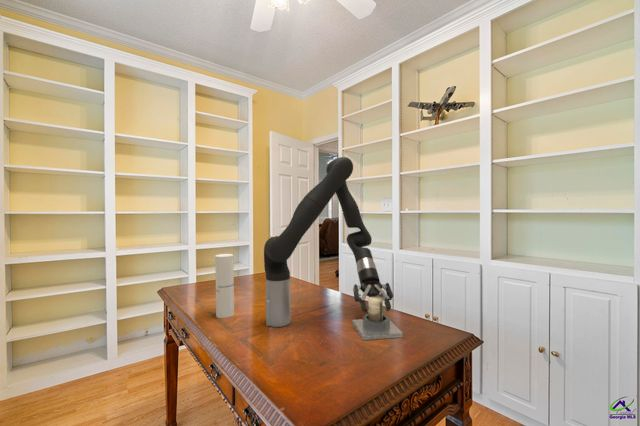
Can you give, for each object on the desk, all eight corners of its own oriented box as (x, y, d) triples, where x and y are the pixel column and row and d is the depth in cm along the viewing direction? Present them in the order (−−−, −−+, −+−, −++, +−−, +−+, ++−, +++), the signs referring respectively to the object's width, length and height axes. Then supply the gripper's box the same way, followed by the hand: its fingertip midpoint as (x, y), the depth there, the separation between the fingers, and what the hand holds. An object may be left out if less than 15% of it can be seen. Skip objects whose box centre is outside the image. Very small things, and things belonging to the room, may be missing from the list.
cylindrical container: (228, 318, 118) (227, 256, 117) (212, 317, 119) (211, 256, 118) (237, 312, 125) (236, 254, 124) (221, 311, 126) (221, 253, 125)
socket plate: (363, 340, 98) (363, 327, 97) (352, 323, 111) (352, 312, 111) (402, 337, 100) (402, 324, 100) (387, 321, 113) (387, 309, 113)
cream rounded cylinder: (376, 329, 102) (376, 301, 102) (365, 325, 106) (365, 298, 106) (386, 326, 105) (385, 298, 105) (375, 321, 110) (374, 295, 109)
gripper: (351, 267, 111) (360, 307, 100) (387, 266, 114) (399, 305, 102) (348, 277, 117) (356, 317, 106) (382, 276, 119) (393, 314, 108)
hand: (377, 311), depth 104 cm, fingers open, 8 cm apart
